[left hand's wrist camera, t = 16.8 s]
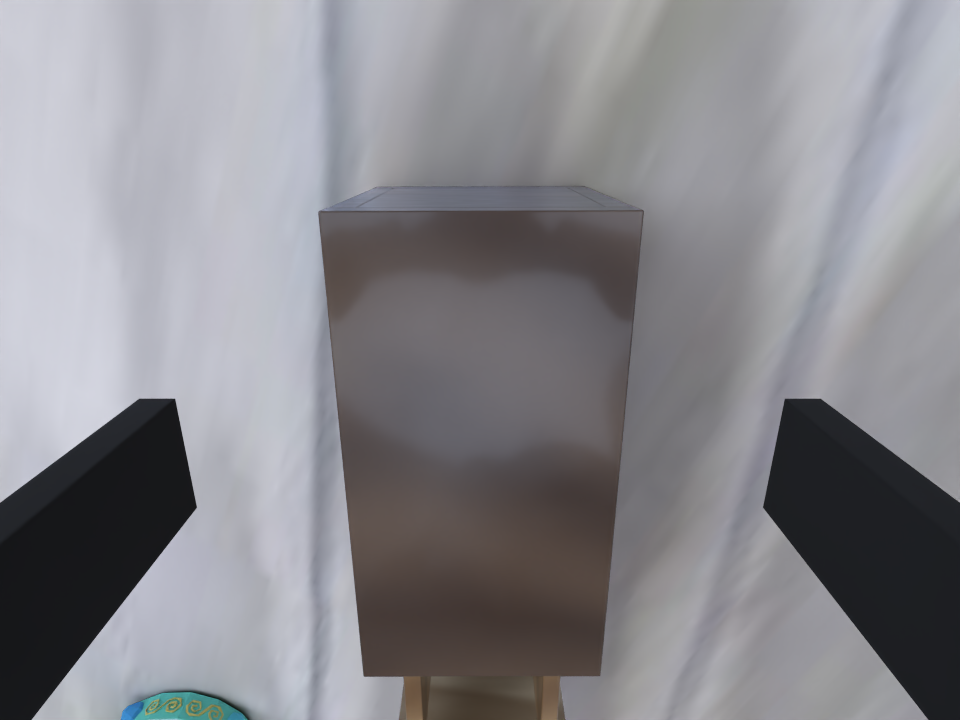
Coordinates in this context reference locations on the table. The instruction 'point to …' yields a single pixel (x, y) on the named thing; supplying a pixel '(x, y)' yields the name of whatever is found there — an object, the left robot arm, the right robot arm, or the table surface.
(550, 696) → the drawer
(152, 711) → the decorative hourglass
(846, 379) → the table surface
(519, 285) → the cabinet
